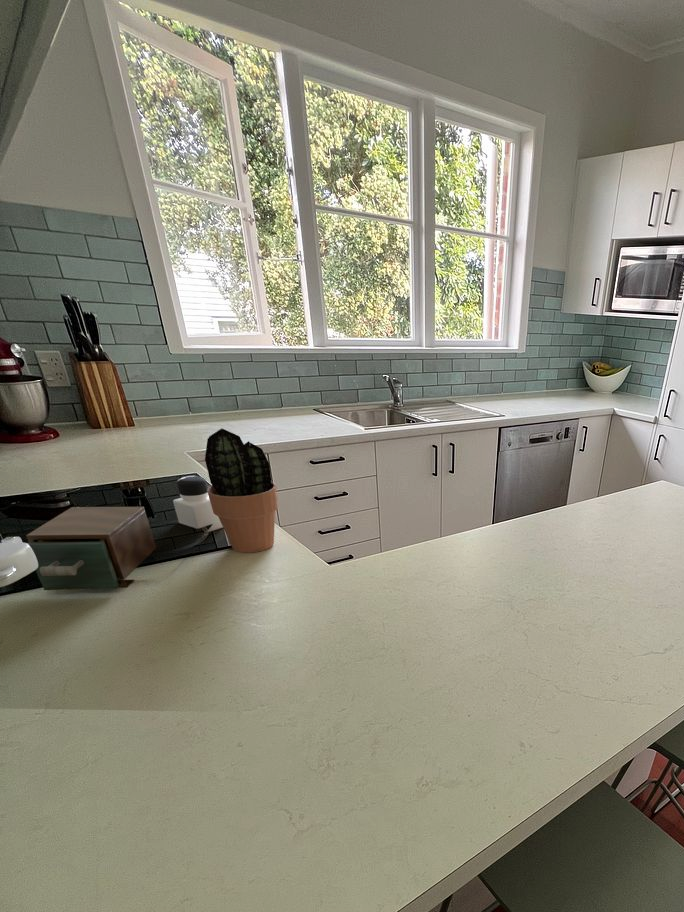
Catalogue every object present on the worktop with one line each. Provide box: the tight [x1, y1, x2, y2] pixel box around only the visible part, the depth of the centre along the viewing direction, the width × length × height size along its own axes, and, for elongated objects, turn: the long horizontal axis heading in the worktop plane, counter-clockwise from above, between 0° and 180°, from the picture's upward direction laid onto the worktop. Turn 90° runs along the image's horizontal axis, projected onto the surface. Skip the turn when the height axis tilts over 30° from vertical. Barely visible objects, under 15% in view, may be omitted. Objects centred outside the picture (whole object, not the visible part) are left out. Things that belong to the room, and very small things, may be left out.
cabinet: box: [25, 506, 157, 589], centre depth 106 cm, size 16×14×11 cm
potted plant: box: [204, 428, 279, 553], centre depth 115 cm, size 14×14×25 cm
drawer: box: [26, 539, 120, 591], centre depth 101 cm, size 19×12×9 cm, turn 7°
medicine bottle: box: [172, 475, 224, 534], centre depth 127 cm, size 7×7×12 cm
